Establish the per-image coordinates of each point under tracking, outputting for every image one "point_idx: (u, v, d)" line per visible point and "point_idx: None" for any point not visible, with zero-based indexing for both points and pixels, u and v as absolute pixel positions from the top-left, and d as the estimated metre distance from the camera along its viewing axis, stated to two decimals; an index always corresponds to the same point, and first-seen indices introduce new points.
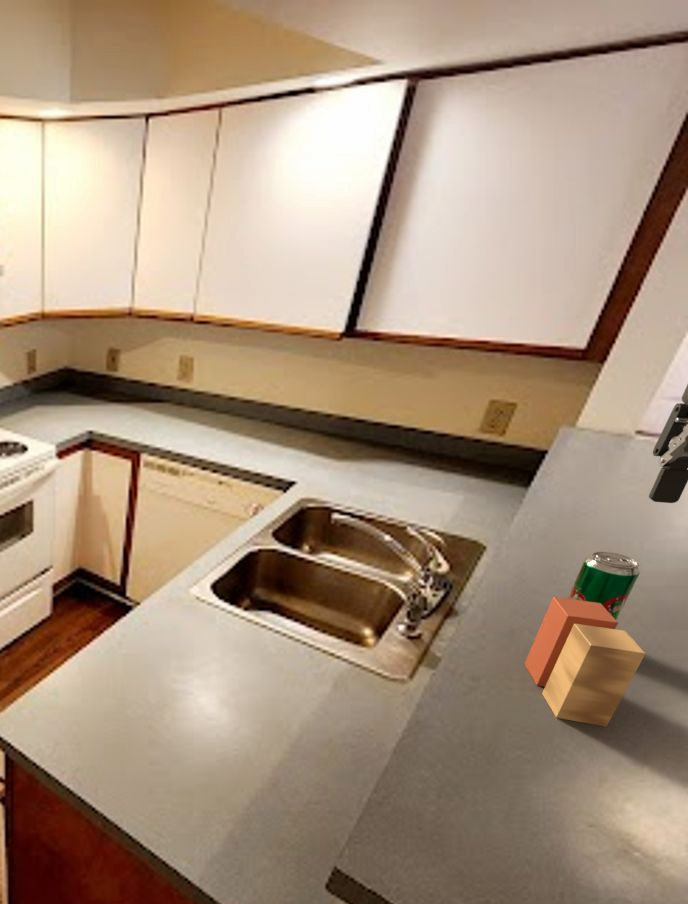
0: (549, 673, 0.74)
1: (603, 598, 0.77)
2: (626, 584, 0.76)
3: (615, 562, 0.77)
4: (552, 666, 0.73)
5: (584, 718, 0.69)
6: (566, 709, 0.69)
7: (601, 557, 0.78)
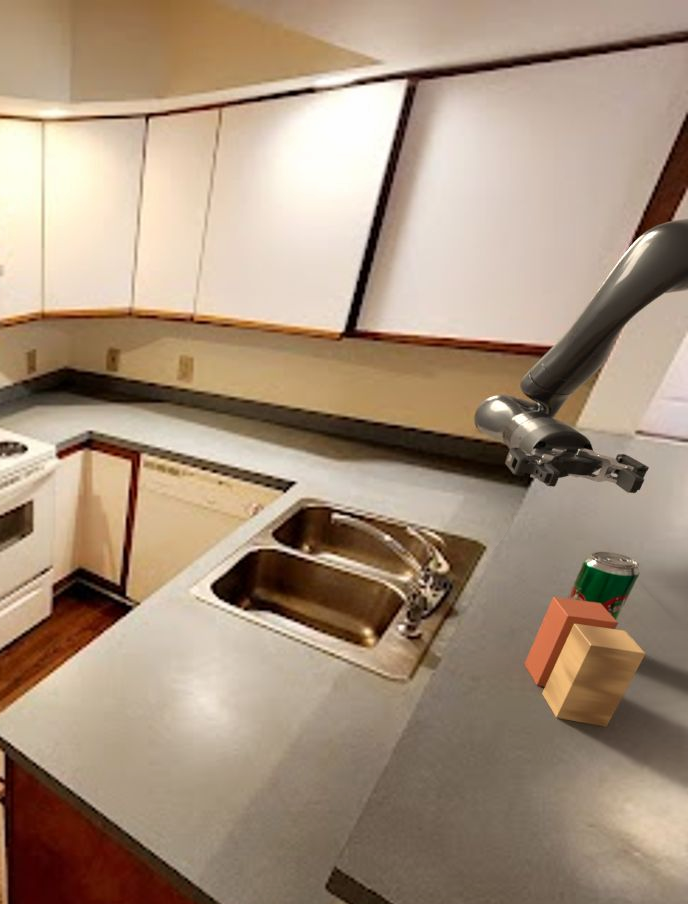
0: (549, 673, 0.74)
1: (603, 598, 0.77)
2: (626, 584, 0.76)
3: (615, 562, 0.77)
4: (552, 666, 0.73)
5: (584, 718, 0.69)
6: (566, 709, 0.69)
7: (601, 557, 0.78)
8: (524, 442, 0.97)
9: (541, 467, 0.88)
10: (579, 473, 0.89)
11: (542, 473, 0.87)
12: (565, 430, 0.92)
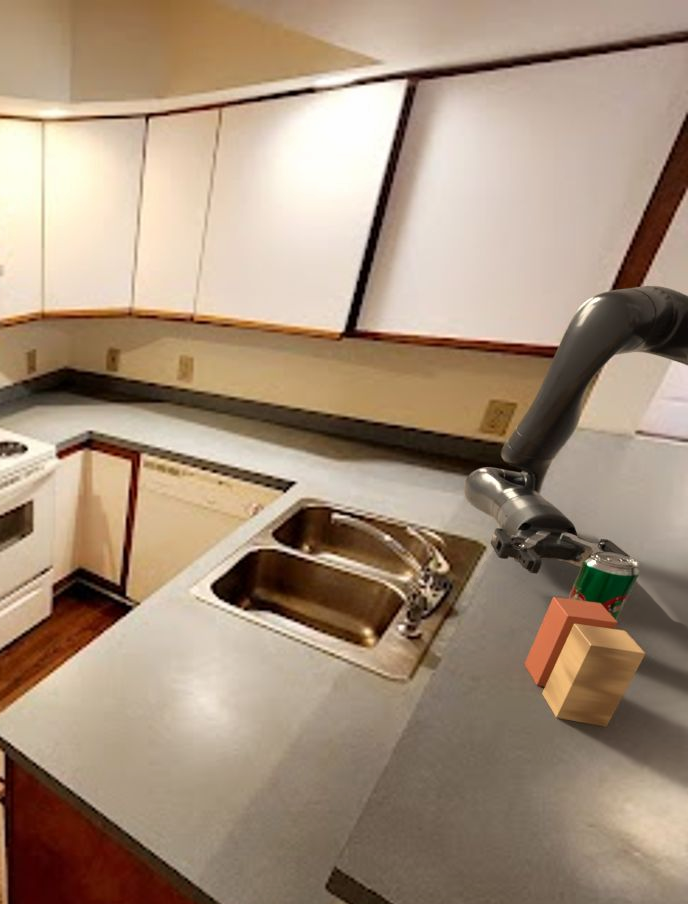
0: (549, 673, 0.74)
1: (603, 598, 0.77)
2: (626, 584, 0.76)
3: (615, 562, 0.77)
4: (552, 666, 0.73)
5: (584, 718, 0.69)
6: (566, 709, 0.69)
7: (601, 557, 0.78)
8: (510, 521, 0.98)
9: (524, 553, 0.89)
10: (562, 558, 0.90)
11: (525, 559, 0.88)
12: (549, 513, 0.94)
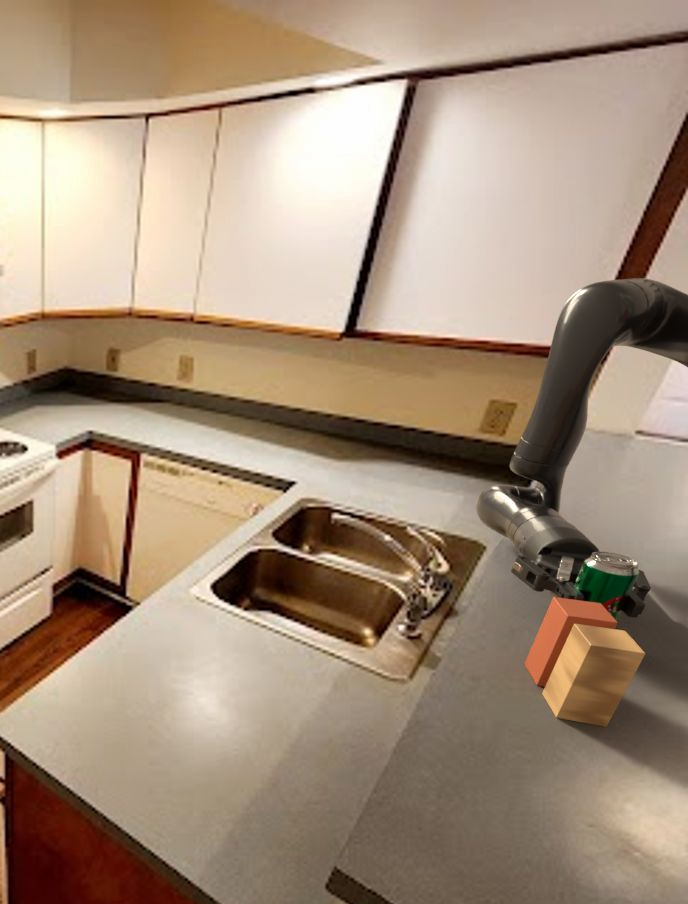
0: (549, 673, 0.74)
1: (603, 598, 0.77)
2: (625, 584, 0.76)
3: (615, 562, 0.77)
4: (552, 666, 0.73)
5: (584, 718, 0.69)
6: (566, 709, 0.69)
7: (601, 557, 0.78)
8: (528, 545, 0.91)
9: (562, 586, 0.81)
10: None
11: (564, 594, 0.80)
12: (572, 537, 0.87)
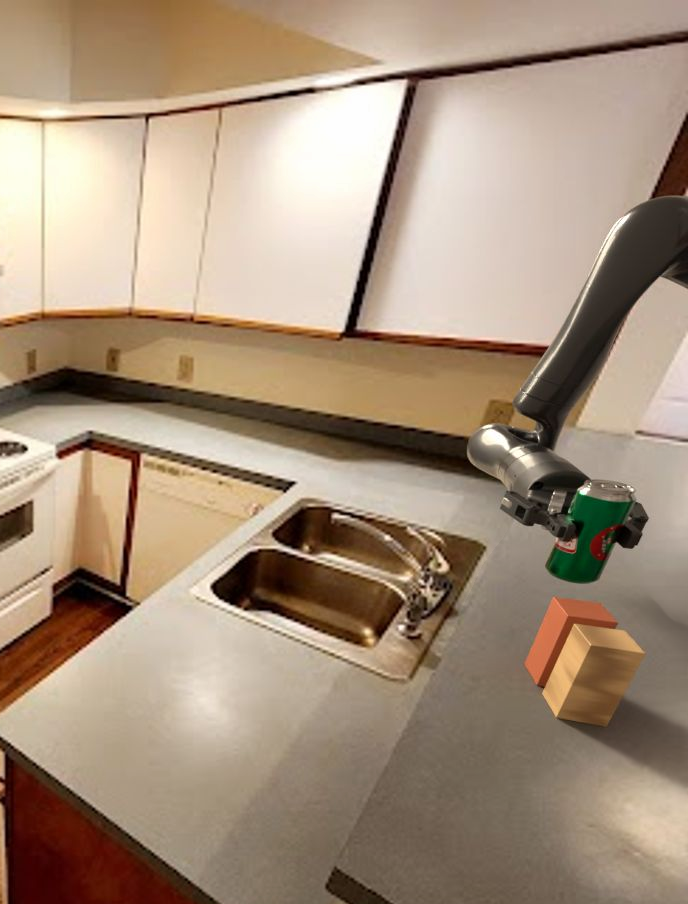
0: (549, 673, 0.74)
1: (597, 528, 0.72)
2: (621, 511, 0.70)
3: (609, 488, 0.71)
4: (552, 666, 0.73)
5: (584, 718, 0.69)
6: (566, 709, 0.69)
7: (595, 484, 0.73)
8: (519, 481, 0.85)
9: (553, 518, 0.75)
10: None
11: (555, 526, 0.74)
12: (566, 470, 0.81)
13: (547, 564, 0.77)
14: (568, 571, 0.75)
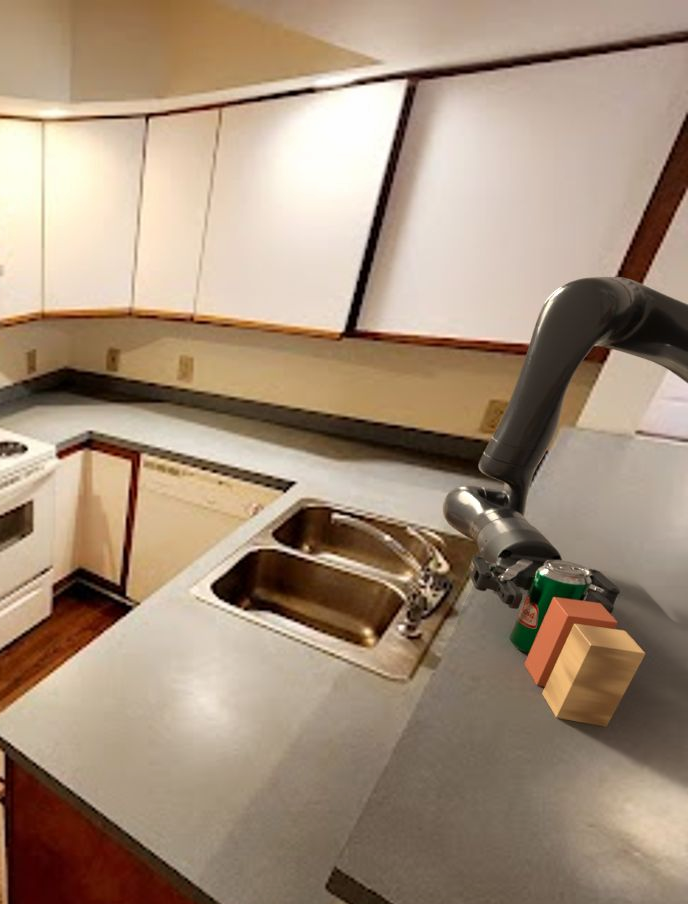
0: (549, 673, 0.74)
1: None
2: (577, 593, 0.75)
3: (566, 571, 0.75)
4: (552, 666, 0.73)
5: (584, 718, 0.69)
6: (566, 709, 0.69)
7: (554, 565, 0.77)
8: (489, 548, 0.89)
9: (503, 585, 0.80)
10: None
11: (504, 593, 0.79)
12: (532, 539, 0.85)
13: (511, 636, 0.82)
14: (529, 644, 0.79)
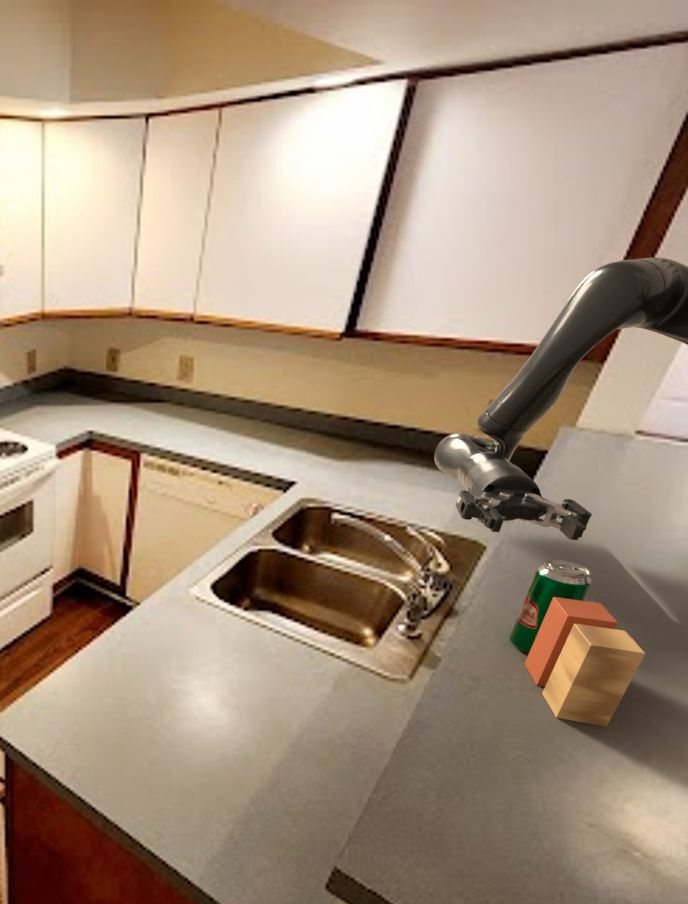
0: (549, 673, 0.74)
1: None
2: (577, 593, 0.75)
3: (566, 571, 0.75)
4: (552, 666, 0.73)
5: (584, 718, 0.69)
6: (566, 709, 0.69)
7: (554, 565, 0.77)
8: (475, 485, 0.98)
9: (487, 512, 0.89)
10: (525, 518, 0.90)
11: (487, 519, 0.88)
12: (513, 474, 0.93)
13: (511, 636, 0.82)
14: (529, 644, 0.79)
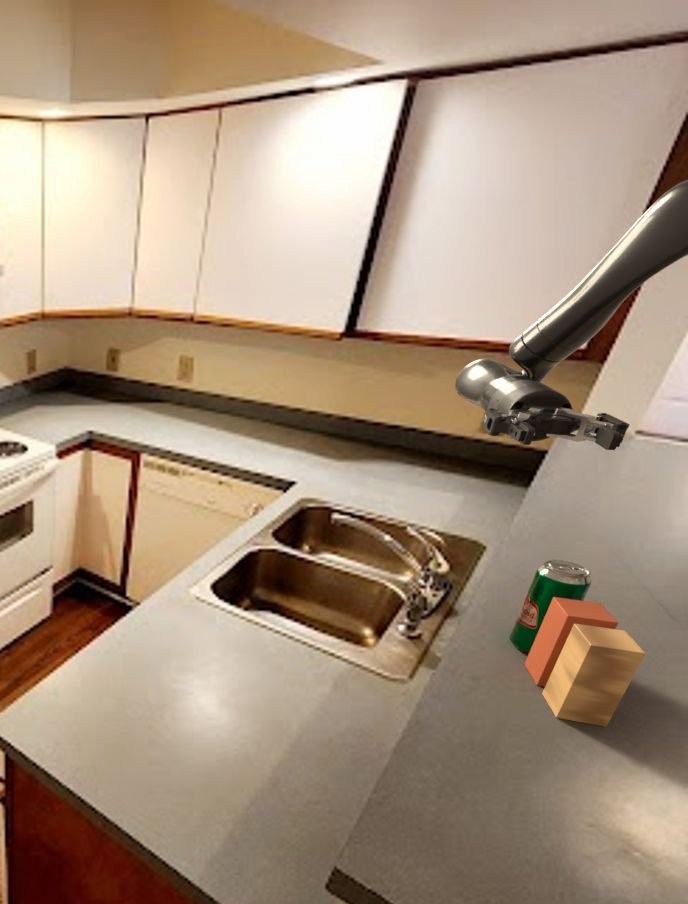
0: (549, 673, 0.74)
1: None
2: (577, 593, 0.75)
3: (566, 571, 0.75)
4: (552, 666, 0.73)
5: (584, 718, 0.69)
6: (566, 709, 0.69)
7: (554, 565, 0.77)
8: (501, 405, 0.92)
9: (516, 425, 0.83)
10: (557, 433, 0.84)
11: (517, 431, 0.82)
12: (543, 389, 0.88)
13: (511, 636, 0.82)
14: (529, 644, 0.79)
